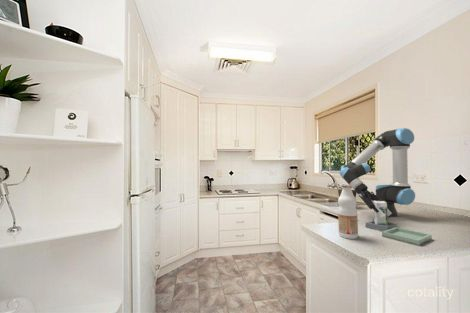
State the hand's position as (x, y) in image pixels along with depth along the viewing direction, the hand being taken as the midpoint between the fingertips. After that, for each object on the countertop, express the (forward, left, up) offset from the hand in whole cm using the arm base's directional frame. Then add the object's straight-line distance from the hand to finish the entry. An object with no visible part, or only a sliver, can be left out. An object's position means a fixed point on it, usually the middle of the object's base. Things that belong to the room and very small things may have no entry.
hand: (386, 215), depth 130 cm
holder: (0, -3, -8) cm, 9 cm away
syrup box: (0, -3, -7) cm, 7 cm away
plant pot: (-40, -49, -9) cm, 64 cm away
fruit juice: (+31, -5, -9) cm, 33 cm away
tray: (+8, +13, -8) cm, 17 cm away
